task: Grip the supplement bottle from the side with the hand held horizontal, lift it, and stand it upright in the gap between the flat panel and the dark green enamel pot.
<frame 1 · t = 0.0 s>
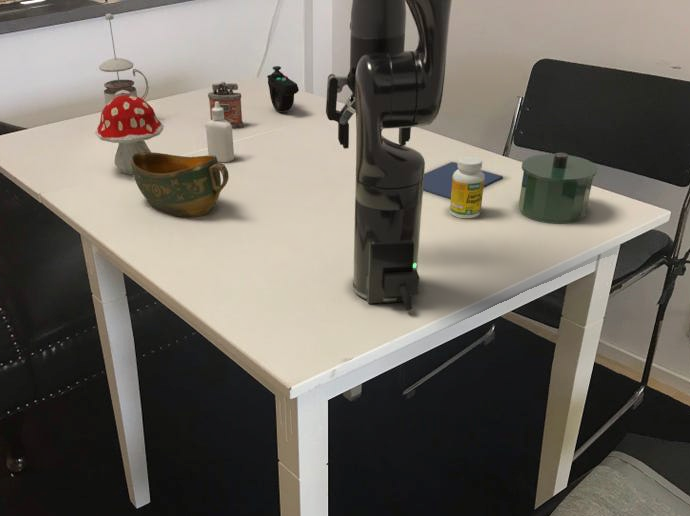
hand: (373, 145, 115), 17 cm above the table, tool pointing down, fingers open, 8 cm apart
controller: (283, 112, 190), on the table
cup: (182, 208, 143), on the table
pot lid: (558, 169, 131), point 7 cm above the table, touching pot
supplement bottle: (464, 214, 135), on the table
french press: (128, 124, 187), on the table
lighter: (226, 126, 183), on the table
decorative mushroom: (135, 169, 161), on the table
flat panel: (453, 181, 148), on the table
pot: (551, 210, 135), on the table
eye dropper bottle: (221, 160, 164), on the table
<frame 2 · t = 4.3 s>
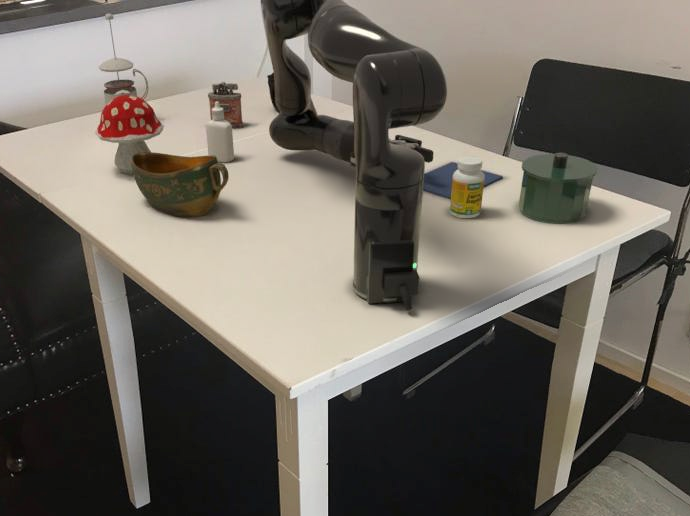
hand: (417, 163, 139), 6 cm above the table, tool horizontal, fingers open, 8 cm apart
nothing on the table moved.
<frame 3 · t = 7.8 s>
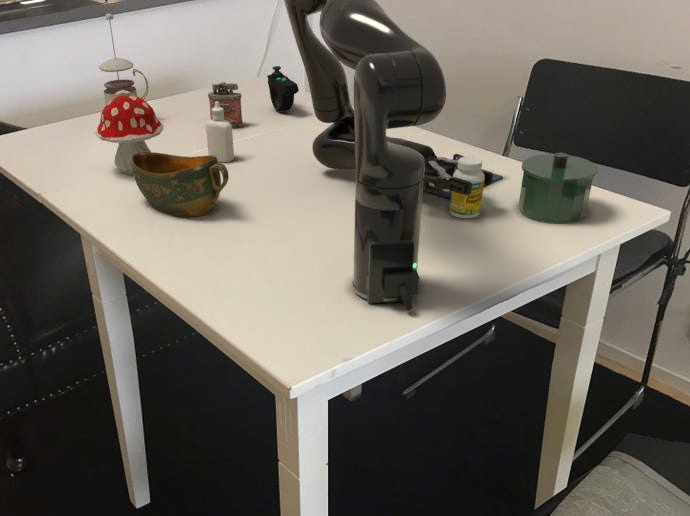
hand: (480, 184, 130), 6 cm above the table, tool horizontal, fingers closed on supplement bottle, 5 cm apart
supplement bottle: (464, 214, 135), on the table, touching gripper
everything else where it was.
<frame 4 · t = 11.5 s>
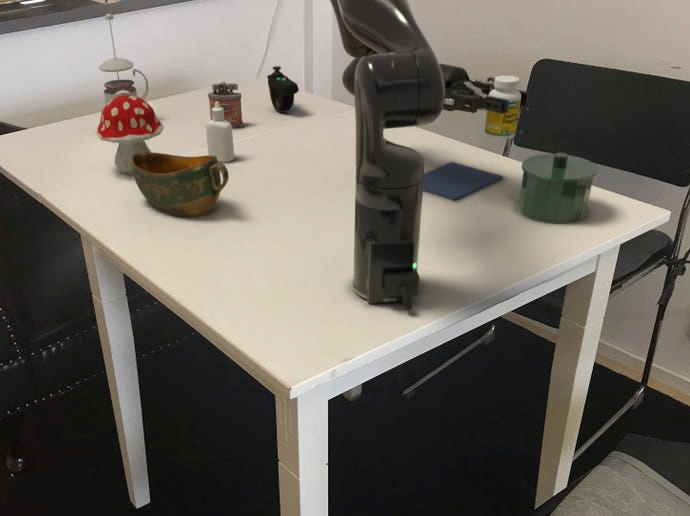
hand: (517, 103, 129), 18 cm above the table, tool horizontal, fingers closed on supplement bottle, 5 cm apart
supplement bottle: (499, 136, 134), point 11 cm above the table, touching gripper
everything else where it was.
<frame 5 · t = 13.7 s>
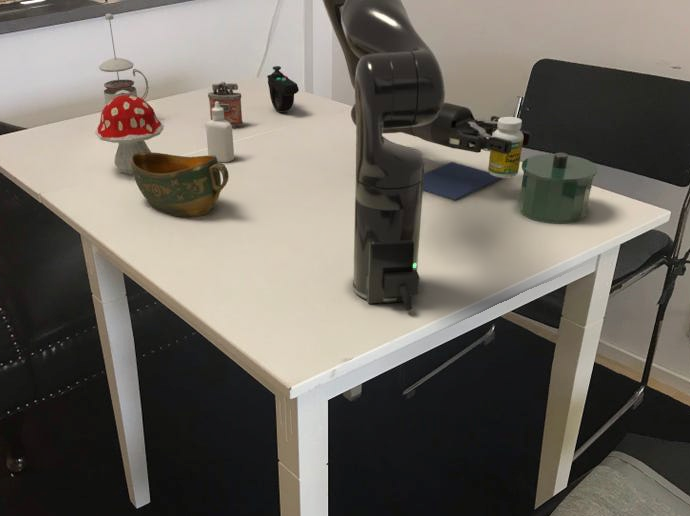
hand: (519, 143, 134), 10 cm above the table, tool horizontal, fingers closed on supplement bottle, 5 cm apart
supplement bottle: (502, 173, 139), point 4 cm above the table, touching gripper
everything else where it was.
when the fingers open (6 cm above the table, at t = 15.4 s): supplement bottle stays where it is, on the table.
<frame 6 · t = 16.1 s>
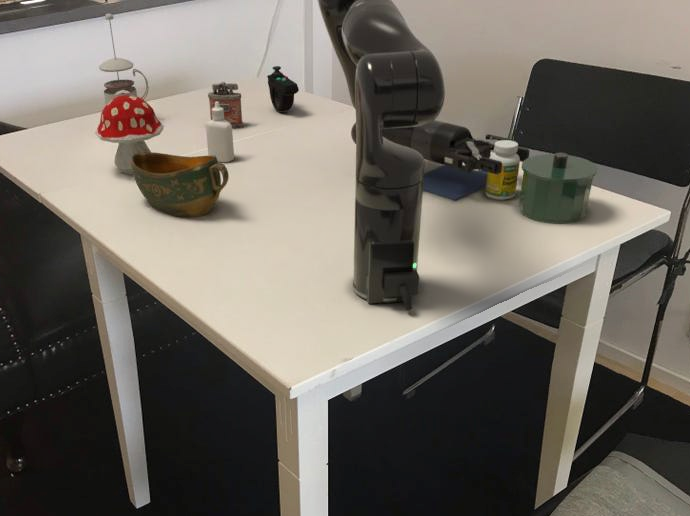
hand: (514, 162, 136), 7 cm above the table, tool horizontal, fingers open, 8 cm apart
supplement bottle: (499, 195, 141), on the table
everything else where it was.
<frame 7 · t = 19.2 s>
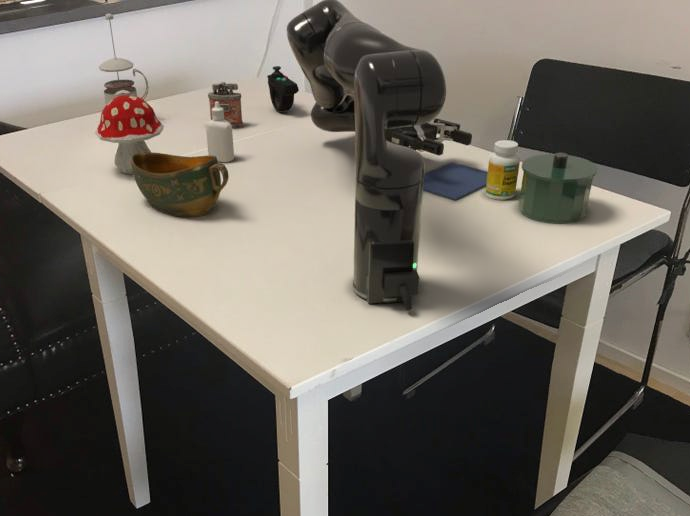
hand: (456, 144, 144), 7 cm above the table, tool horizontal, fingers open, 8 cm apart
nothing on the table moved.
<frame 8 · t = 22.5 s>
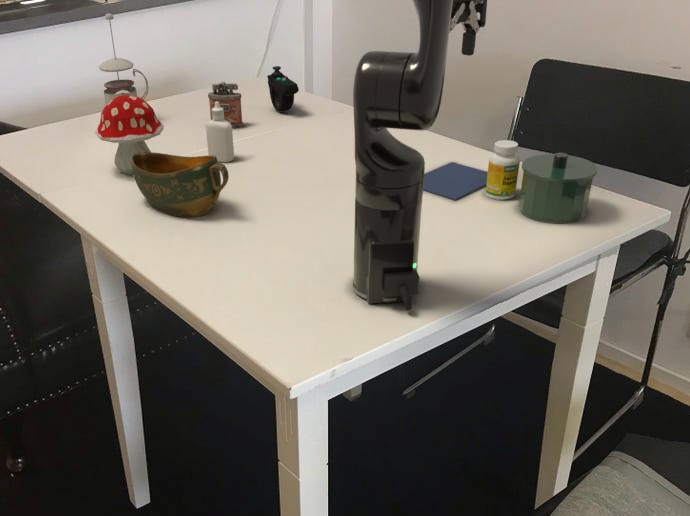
hand: (453, 59, 137), 22 cm above the table, tool pointing down, fingers open, 8 cm apart
nothing on the table moved.
at the end: supplement bottle 0.1 cm from the target spot, on the table; supplement bottle tilted 0°; the gripper is holding nothing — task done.
